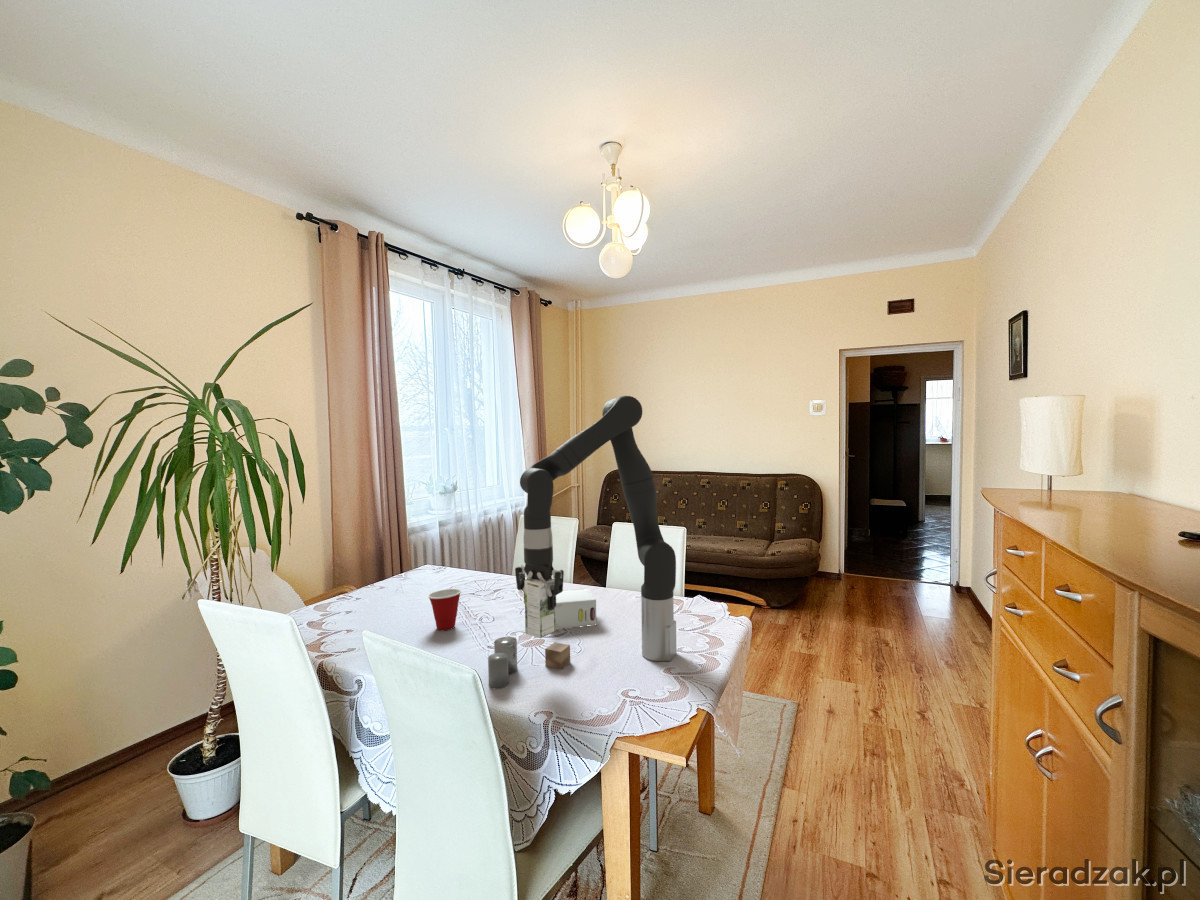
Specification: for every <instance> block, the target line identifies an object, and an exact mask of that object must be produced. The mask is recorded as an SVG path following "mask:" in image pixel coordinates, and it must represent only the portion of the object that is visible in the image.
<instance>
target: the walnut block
mask: <svg viewBox="0 0 1200 900" xmlns="http://www.w3.org/2000/svg"><path fill="white" fill-rule="evenodd" d="M544 650H545V651H544V652H545V654H544V656H545V658H544V659H545V660H544V661H545V662H544V663H545V667H547V668H551V669H555V670H560V671H561V670H563V669H564V668H566V667H567V666H568V665H569V664H570V663H571V644H566V643H562V642H556V641H555V642H553V643H551V644H550V645H548V646H547V647H546V648H545V649H544Z"/></svg>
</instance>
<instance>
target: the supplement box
mask: <svg viewBox="0 0 1200 900" xmlns="http://www.w3.org/2000/svg"><path fill="white" fill-rule="evenodd" d="M595 624H596V625H597V598H596V597H595V596H594V594H593V593H592V591H591V590H590V589H589V588H583V589H582V588H579V589H567V590H563V591H562V592H561V593H559V594H557V595H556V607H555V629H560V630H564V629H563V628H570V629H573V628H572V627H580V626H587V625H595ZM580 628H581V627H580Z"/></svg>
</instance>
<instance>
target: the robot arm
mask: <svg viewBox="0 0 1200 900" xmlns="http://www.w3.org/2000/svg"><path fill="white" fill-rule="evenodd" d="M642 416H643V406H642V403H641V401H639V400H638V398H636V397H634V396H630V395H621V396H618V397H615V398H612V399H609V400H608V401H606V402H605V404H604V405H603V408H602V417H601V418H599V419H598V420H597V421H595V423H593V424H592V425H590V426H588V427H587V428H585V429H583V430H582V431H580V432H578V433H577V434H575V435H574V436H572V437H571V438H569V439H567V440H566V441H565V442H564V443H562V444H561V445H560V446H558V447H556V449H554V451H552V452H551V453H550V454H549V455H547V456H545V457H543V458H542V459H541V460H538V461H537V462H535V463H534V464H532V465H531V466H529V467H528V468H527V469H526V470H524V471H523V472H522V474H521V476H520V477H519V485H520V488H521V490H523V491H524V492H525V493H526V494H527V502H526V503H527V505H526V506H525V508H524V510H523V562H524V564H525V565H523V564H522V565H518V566H517V567H514V571H515V581H516V588H517V590H518V591H522V593H523V603H524V604H525V580H527V579H529V580H531V579H537V580H540V581H541V582H543V583H544V588H545V589H546V591H547V594H548V610H550V611H551V610H553V609H554V608H555V607H556V595H557V594H559V593H561V592H562V591H564V575H565V574H564V573H565V572H564V570H563V569H560V570H557V569H555V568H554V566H553V561H554V549H553V548H554V546H553V545H554V544H553V541H554V540H553V531H552V515H551V513H552V512H551V508H552V502H553V497H554V481H555V480H556V479H558V478H560V477H563V476H566V475H568V474H569V473H570V472H572V471H573V470H574V469H575V468H577V467H578V466H579V465H580V464H582V463H583V462H584V461H585V460H586V459H587V458H589V457H590V456H591V455H592V454H593V453H595V452H596V451H597V450H599V449H600V448H601V447H603V446H604V445H605V444H606V443H608V442H609V441H610V443H611V446H612V449H613V454H614V457H615V461H616V467H617V470H618V474H619V479H620V484H621V487H622V492H623V495H624V499H625V502H626V506H627V509H628V511H629V512H628V513H629V515H630V518H631V522H632V524H633V529H634V535H635V536H634V537H635V542H636V543H635V544H636V548H637V551H636V552H637V555H638V560H639V562H640V563H641V564H642V566H643V572H644V573H643V574H644V575H643V583H642V585H641V587H640V589H641V590H640V594H641V599H640V600H641V603H640V605H641V608H640V609H641V610H640V611H641V655H642V657H643V658H645V659H646V660H650V661H653V662H664V661H665V662H666V661H667V662H671V661H672V659H673V658H674V657H675V656H676V655H677V620H674V619H675V618H674V616H675V614H674V613H675V612H674V611H675V610H674V607H675V606H674V590H675V588H676V583H677V582H676V581H677V580H676V578H677V573H676V572H677V560H676V559H677V558H676V552H675V550H674V548H673V547H672V545H670V544H669V543H667V542H666V541H665V539H664V537H663V535H662V533H661V532H662V531H661V528H660V526H659V522H658V513H657V512H658V511H657V509H658V497H657V496H658V494H657V489H656V484H655V480H654V477H653V471H652V470H651V467H650V464H648V462H647V460H646V458H645V457H644V456H643V454H642V452H641V450H640V449H639V447H638V444H637V442H636V439H635V435H634V431H633V427H635V426H636V425H638V423H639V422H640V421H641V418H643V417H642ZM526 576H527V577H526ZM552 576H553V577H552ZM552 578H554V579H555V580H554V582H551V583H549V584H547V582H546V581H548V580H549V579H552ZM550 586H551V588H550Z"/></svg>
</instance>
